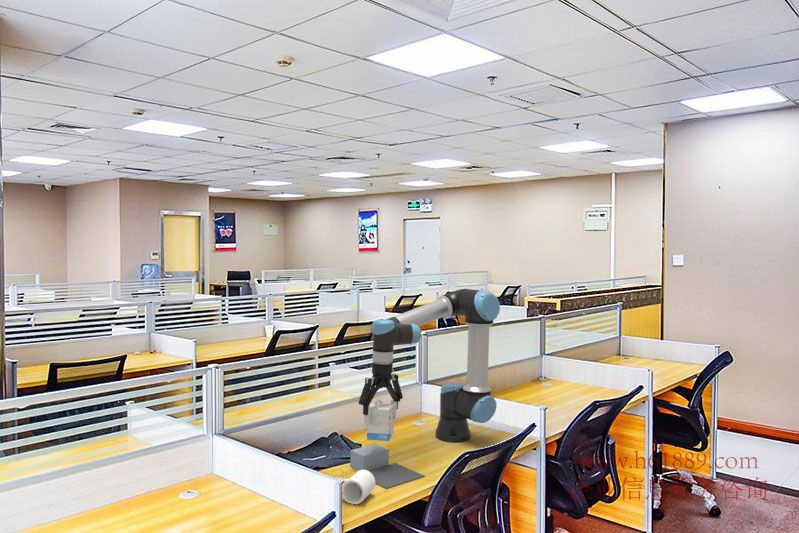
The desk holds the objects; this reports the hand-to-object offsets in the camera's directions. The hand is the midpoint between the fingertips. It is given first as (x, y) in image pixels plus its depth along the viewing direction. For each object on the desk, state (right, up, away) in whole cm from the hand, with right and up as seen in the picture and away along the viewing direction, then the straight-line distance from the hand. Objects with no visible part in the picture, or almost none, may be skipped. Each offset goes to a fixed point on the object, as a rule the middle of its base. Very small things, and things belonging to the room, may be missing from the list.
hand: (380, 421), depth 229 cm
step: (-4, -18, +4) cm, 19 cm away
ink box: (0, -6, 0) cm, 6 cm away
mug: (-8, -19, -25) cm, 32 cm away
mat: (+4, -18, -5) cm, 19 cm away
